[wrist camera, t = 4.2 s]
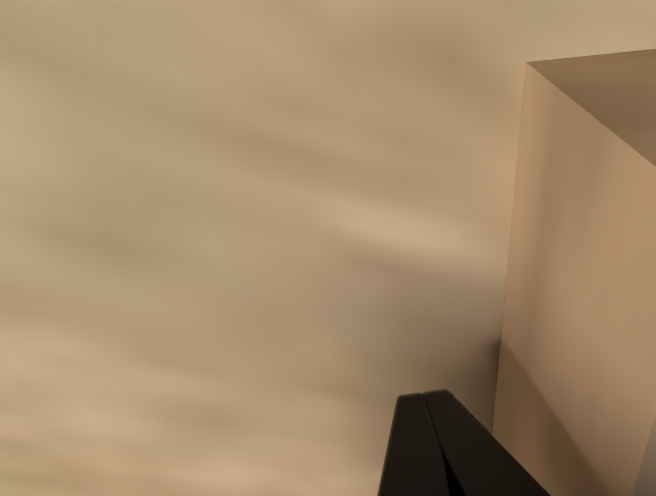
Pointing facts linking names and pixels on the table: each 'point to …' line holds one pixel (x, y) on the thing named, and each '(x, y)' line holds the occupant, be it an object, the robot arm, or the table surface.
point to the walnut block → (583, 279)
